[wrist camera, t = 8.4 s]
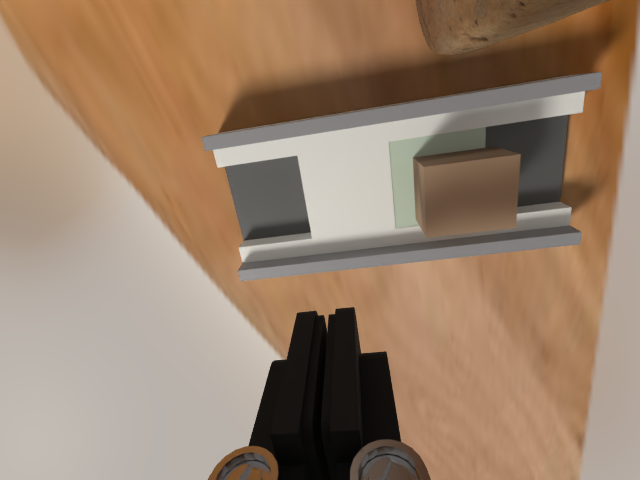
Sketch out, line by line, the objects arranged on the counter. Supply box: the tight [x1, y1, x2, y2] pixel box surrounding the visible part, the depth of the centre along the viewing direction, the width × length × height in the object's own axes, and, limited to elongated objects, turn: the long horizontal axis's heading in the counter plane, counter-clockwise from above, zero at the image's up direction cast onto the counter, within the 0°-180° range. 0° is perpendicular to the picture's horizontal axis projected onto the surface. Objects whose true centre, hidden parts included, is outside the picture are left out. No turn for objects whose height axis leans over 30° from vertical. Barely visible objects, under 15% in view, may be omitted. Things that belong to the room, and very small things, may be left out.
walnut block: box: [413, 146, 521, 238], centre depth 25 cm, size 5×6×4 cm
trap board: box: [202, 72, 602, 281], centre depth 27 cm, size 12×27×4 cm, turn 99°
